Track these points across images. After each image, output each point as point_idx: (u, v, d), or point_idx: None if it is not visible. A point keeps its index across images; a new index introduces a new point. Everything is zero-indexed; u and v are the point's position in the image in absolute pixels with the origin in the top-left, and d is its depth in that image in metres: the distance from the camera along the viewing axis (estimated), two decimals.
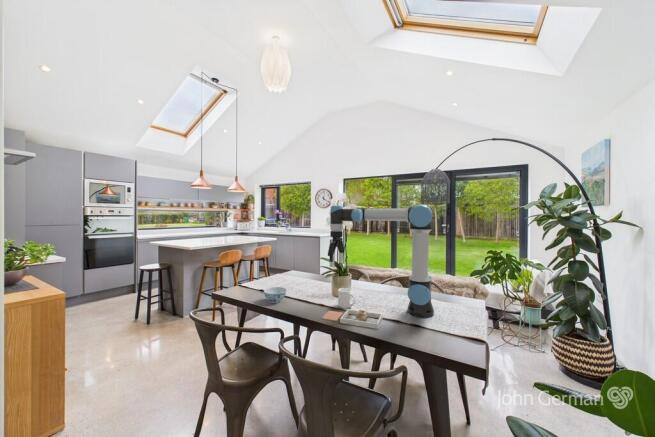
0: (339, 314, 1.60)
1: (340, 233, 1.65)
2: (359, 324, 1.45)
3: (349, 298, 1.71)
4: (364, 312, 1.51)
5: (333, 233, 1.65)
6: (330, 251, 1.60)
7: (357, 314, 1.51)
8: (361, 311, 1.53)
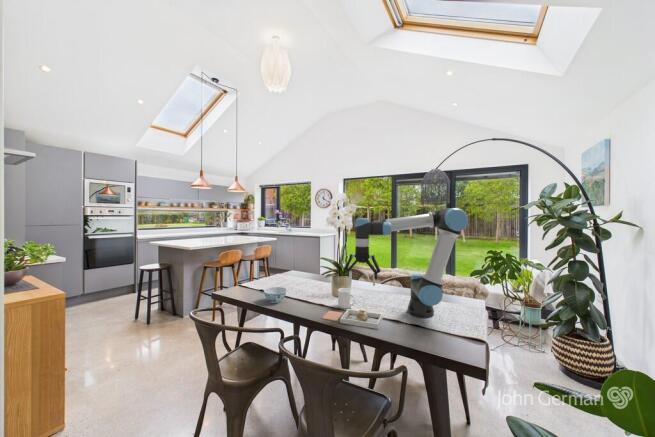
0: (339, 314, 1.60)
1: (357, 249, 1.48)
2: (359, 324, 1.45)
3: (349, 298, 1.71)
4: (364, 312, 1.51)
5: None
6: (346, 265, 1.55)
7: (357, 314, 1.51)
8: (361, 311, 1.53)
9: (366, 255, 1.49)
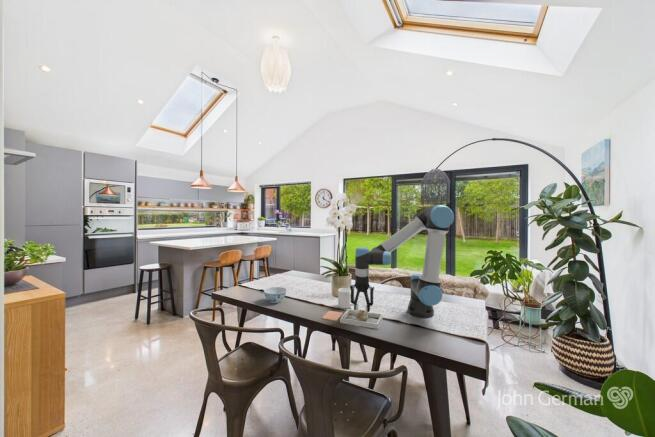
0: (339, 314, 1.60)
1: (357, 279, 1.49)
2: (359, 324, 1.45)
3: (349, 298, 1.71)
4: (364, 312, 1.51)
5: None
6: None
7: (357, 314, 1.51)
8: (361, 311, 1.53)
9: (366, 285, 1.50)
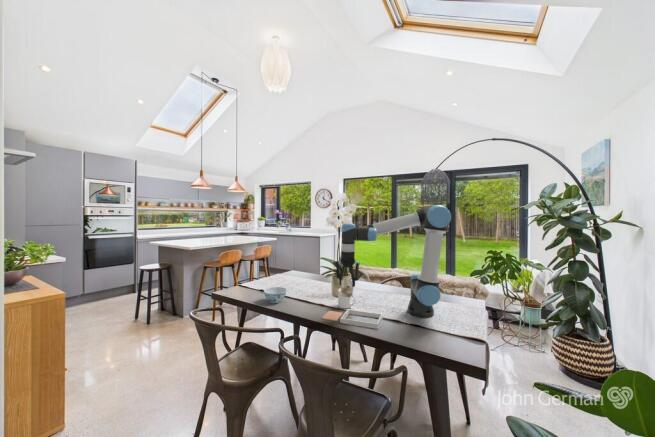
0: (339, 314, 1.60)
1: (343, 254, 1.51)
2: (359, 324, 1.45)
3: (349, 298, 1.71)
4: (349, 287, 1.54)
5: None
6: None
7: (342, 289, 1.53)
8: (346, 286, 1.55)
9: (351, 260, 1.52)
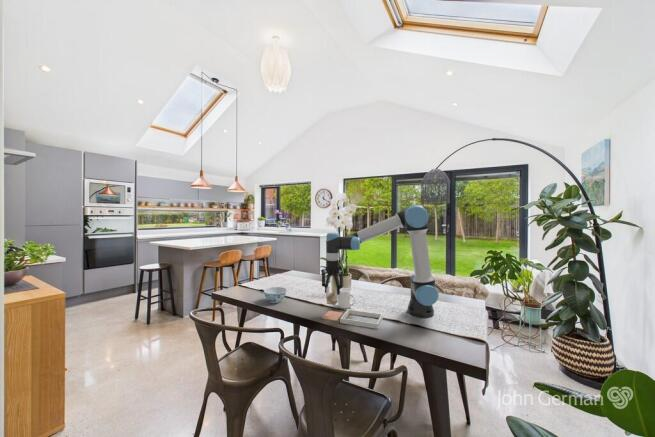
0: (339, 314, 1.60)
1: (328, 262, 1.55)
2: (359, 324, 1.45)
3: (349, 298, 1.71)
4: (334, 295, 1.58)
5: None
6: None
7: (327, 296, 1.57)
8: (332, 294, 1.59)
9: (336, 268, 1.56)
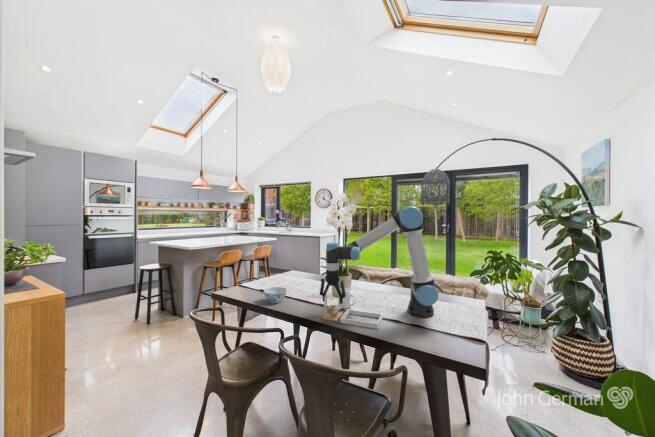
0: (339, 314, 1.60)
1: (328, 273, 1.55)
2: (359, 324, 1.45)
3: (349, 298, 1.71)
4: (334, 307, 1.58)
5: None
6: None
7: (328, 309, 1.57)
8: (332, 306, 1.59)
9: (336, 278, 1.56)
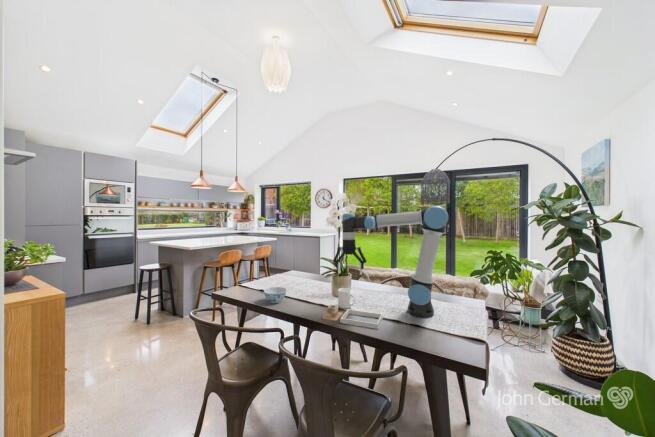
0: (339, 314, 1.60)
1: (345, 242, 1.62)
2: (359, 324, 1.45)
3: (349, 298, 1.71)
4: (334, 307, 1.58)
5: None
6: None
7: (328, 309, 1.57)
8: (332, 306, 1.59)
9: (353, 247, 1.63)
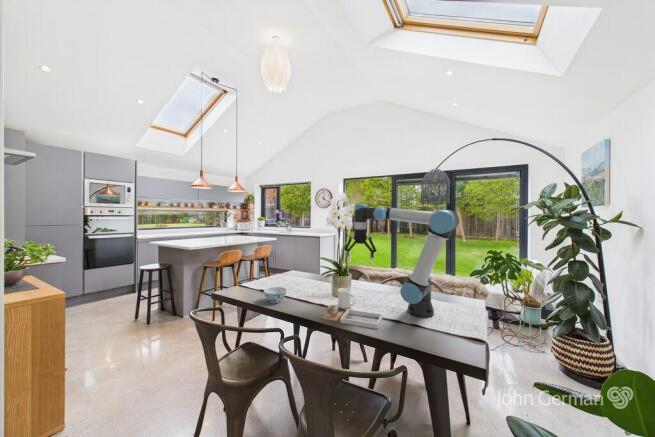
0: (339, 314, 1.60)
1: (356, 231, 1.68)
2: (359, 324, 1.45)
3: (349, 298, 1.71)
4: (334, 307, 1.58)
5: None
6: None
7: (328, 309, 1.57)
8: (332, 306, 1.59)
9: (364, 237, 1.69)
